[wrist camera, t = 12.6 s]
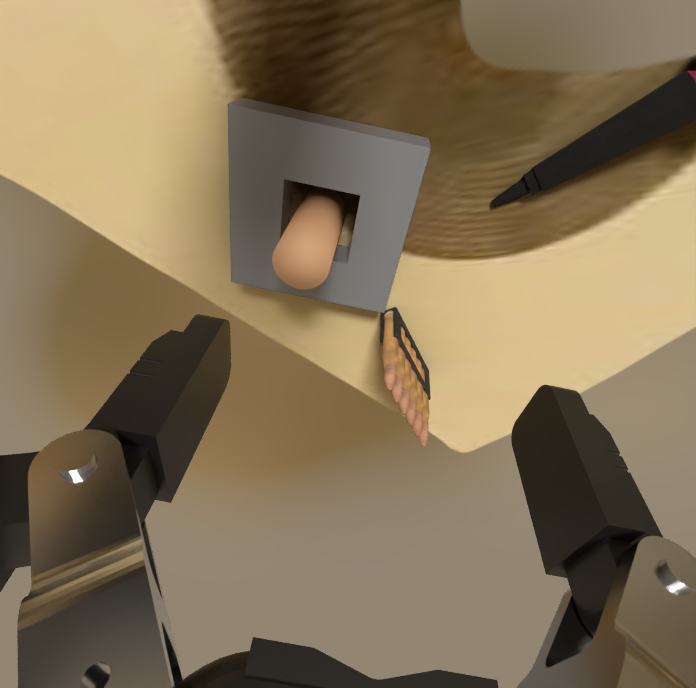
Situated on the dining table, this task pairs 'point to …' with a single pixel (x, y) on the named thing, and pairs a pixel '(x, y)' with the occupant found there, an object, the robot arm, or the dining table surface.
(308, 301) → the dining table surface
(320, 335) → the dining table surface
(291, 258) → the peg
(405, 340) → the ammunition clip
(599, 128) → the microphone
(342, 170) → the socket block
